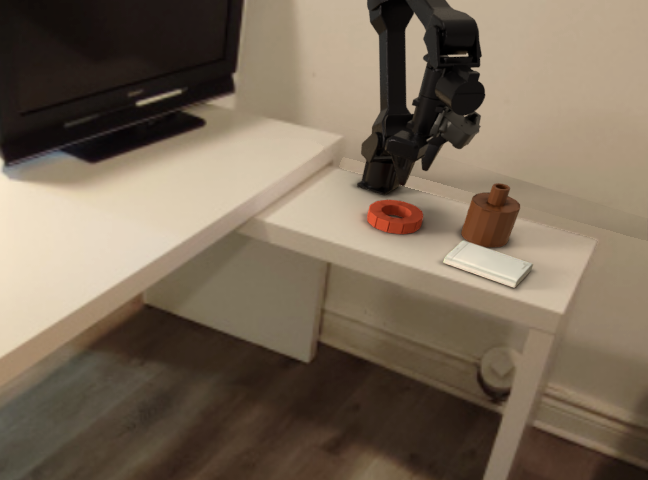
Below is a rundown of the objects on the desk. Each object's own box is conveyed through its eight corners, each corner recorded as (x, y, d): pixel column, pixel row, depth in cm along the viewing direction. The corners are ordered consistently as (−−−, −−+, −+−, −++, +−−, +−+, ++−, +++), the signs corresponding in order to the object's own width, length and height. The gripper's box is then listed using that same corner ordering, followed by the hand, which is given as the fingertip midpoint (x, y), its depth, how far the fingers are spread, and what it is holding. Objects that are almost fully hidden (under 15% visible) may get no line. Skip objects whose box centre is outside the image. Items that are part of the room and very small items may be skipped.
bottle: (453, 236, 147) (469, 186, 141) (472, 222, 152) (488, 173, 145) (496, 252, 143) (515, 201, 136) (514, 236, 147) (533, 186, 141)
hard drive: (534, 262, 137) (463, 238, 143) (517, 281, 132) (445, 255, 138) (530, 270, 138) (461, 246, 144) (513, 289, 133) (442, 263, 139)
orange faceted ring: (357, 221, 151) (360, 211, 150) (383, 205, 157) (385, 195, 155) (404, 239, 146) (407, 228, 145) (429, 221, 152) (432, 211, 150)
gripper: (456, 120, 129) (430, 207, 139) (503, 92, 140) (476, 175, 150) (394, 103, 135) (373, 188, 145) (443, 77, 146) (421, 158, 156)
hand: (413, 177), depth 149 cm, fingers open, 9 cm apart
